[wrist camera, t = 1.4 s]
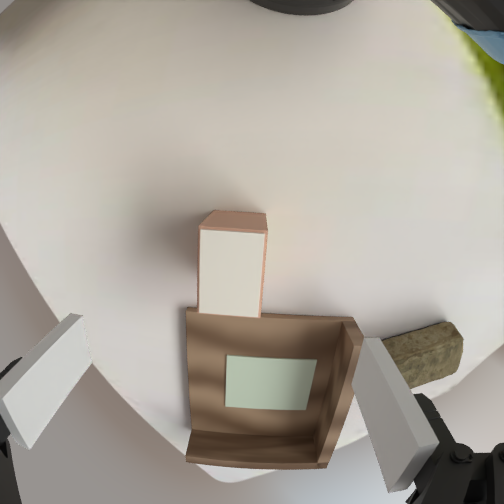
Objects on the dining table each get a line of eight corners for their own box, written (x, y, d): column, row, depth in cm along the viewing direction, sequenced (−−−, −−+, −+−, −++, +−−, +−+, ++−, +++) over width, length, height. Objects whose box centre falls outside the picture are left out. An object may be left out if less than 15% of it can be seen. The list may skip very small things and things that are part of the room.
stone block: (368, 340, 34) (382, 364, 29) (449, 315, 33) (470, 333, 28) (370, 377, 36) (381, 401, 31) (446, 351, 35) (463, 371, 30)
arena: (187, 306, 33) (174, 334, 27) (352, 317, 33) (368, 345, 27) (193, 430, 39) (186, 462, 33) (320, 437, 38) (326, 468, 33)
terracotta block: (213, 210, 30) (197, 226, 22) (265, 213, 30) (267, 231, 22) (211, 278, 32) (196, 314, 24) (260, 281, 32) (260, 319, 24)
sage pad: (227, 354, 34) (226, 355, 33) (316, 359, 33) (316, 360, 33) (225, 405, 36) (225, 406, 35) (305, 409, 36) (305, 410, 35)
